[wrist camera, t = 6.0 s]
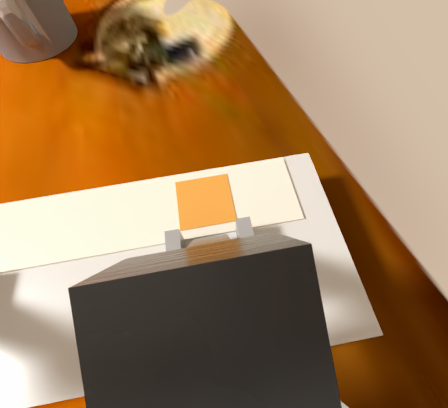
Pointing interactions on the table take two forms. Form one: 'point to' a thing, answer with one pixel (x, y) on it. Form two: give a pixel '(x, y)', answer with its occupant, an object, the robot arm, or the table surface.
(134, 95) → the table surface
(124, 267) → the marked lever
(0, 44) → the coffee mug
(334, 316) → the switch console
